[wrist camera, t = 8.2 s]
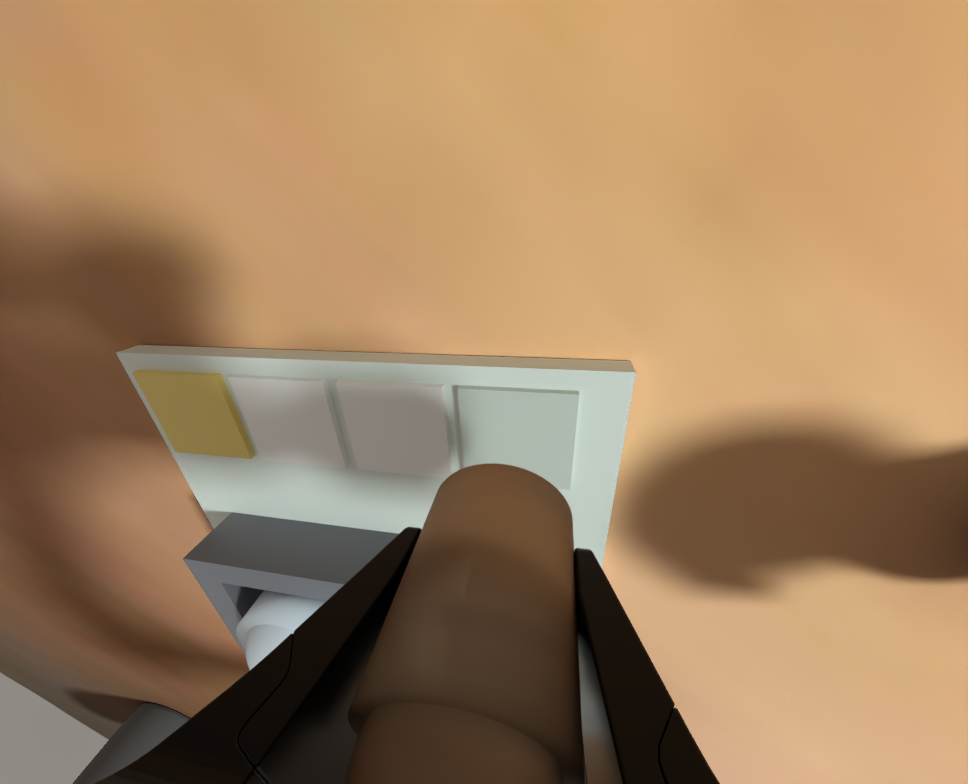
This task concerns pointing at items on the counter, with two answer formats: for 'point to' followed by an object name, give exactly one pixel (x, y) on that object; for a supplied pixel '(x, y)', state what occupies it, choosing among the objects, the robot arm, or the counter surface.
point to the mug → (133, 740)
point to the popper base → (277, 560)
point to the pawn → (478, 644)
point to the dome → (272, 622)
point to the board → (381, 429)
